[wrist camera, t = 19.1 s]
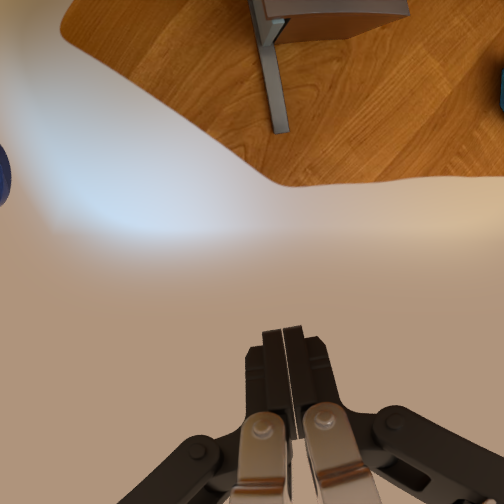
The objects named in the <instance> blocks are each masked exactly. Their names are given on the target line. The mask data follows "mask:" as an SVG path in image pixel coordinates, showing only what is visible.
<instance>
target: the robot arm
mask: <svg viewBox="0 0 504 504" xmlns="http://www.w3.org/2000/svg"><path fill="white" fill-rule="evenodd" d="M283 334H284V341H285V348H286V355H287V361H286V355H285V349H284V343H283V337H282V331H281V329H277V330H270V331H264V332H262V337H263V345H262V346H255V347H250V349H249V351H248V353H247V355H246V357H245V370H246V371H245V378H246V417H245V420H244V422H243V423H242V425H241V426H240V427H239V428H238V429H237V430H236V431H234V432H232V433H230V434H228V435H225V436H222V437H220V438H217V439H213V438H211V437H209V436H206V435H195V436H192V437H189V438H188V439H186V440H185V441H183V442H182V443H181V444H180V445H179V446H178V447H177V448H176V449H175V450H174V451H173V452H172V453H171V454H170V455H169V456H168V457H167V458H166V459H165V460H164V461H163V462H162V463H161V464H160V465H159V466H158V467H157V468H156V469H154V470H153V472H151V473H150V474H149V475H148V476H147V477H146V478H145V479H144V480H143V481H142V482H141V483H139V484H138V485H137V486H136V487H135V488H134V489H133V490H132V491H131V492H129V493H128V494H127V495H126V496H125V497H124V498H123V499H122V500H120V501H119V502H118V503H117V504H223V503H224V502H225V500H226V499H227V498H228V497H229V496H230V500H229V504H293V468H292V458H293V450H292V441H291V440H296V439H297V434H296V427H295V419H294V412H293V404H294V411H295V417H296V423H297V429H298V435H299V439H302V438H305V445H306V451H307V458H308V463H309V467H310V472H311V476H312V480H313V484H314V488H315V493H316V497H317V502H318V504H382V503H381V500H380V497H379V494H378V491H377V488H376V485H375V482H374V479H373V476H372V473H371V471H373V472H374V473H376V474H377V475H379V476H381V477H382V478H384V479H386V480H387V481H389V482H390V483H392V484H394V485H395V486H397V487H398V488H400V489H402V490H404V491H405V492H407V493H409V494H411V495H412V496H414V497H416V498H417V499H419V500H421V501H423V502H424V503H426V504H504V457H502V456H500V455H498V454H496V453H493V452H491V451H489V450H487V449H485V448H483V447H481V446H479V445H477V444H475V443H473V442H471V441H469V440H467V439H465V438H462V437H461V436H459V435H457V434H455V433H453V432H451V431H449V430H447V429H445V428H443V427H441V426H439V425H437V424H435V423H433V422H432V421H430V420H428V419H426V418H424V417H422V416H420V415H418V414H416V413H415V412H413V411H411V410H409V409H407V408H405V407H403V406H398V405H392V406H388V407H385V408H383V409H381V410H380V411H379V412H378V413H377V414H369V413H357V412H353V411H351V410H349V409H347V408H346V407H345V406H344V405H343V404H342V402H341V401H340V398H339V394H338V390H337V386H336V383H335V379H334V375H333V371H332V367H331V364H330V360H329V357H328V353H327V349H326V345H325V344H324V343H323V342H322V341H321V340H320V339H319V337H318V336H315V337H309V338H304V335H303V330H302V326H301V325H300V326H294V327H288V328H283ZM287 362H288V368H289V375H288V368H287ZM289 376H290V382H289ZM290 383H291V389H292V397H293V404H292V397H291V389H290ZM370 470H371V471H370Z"/></svg>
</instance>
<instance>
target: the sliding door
mask: <svg viewBox="0 0 504 504" xmlns="http://www.w3.org/2000/svg"><path fill="white" fill-rule="evenodd" d="M253 5H254V9H255V14H256V18H257V23H258V28H259V33H260V37H261V42H262V46H263V47H264V46H270V45H271V44H272V42H273V40H274V39H275V37H276V35H277V34H278V32H279V31H280V29H281V27H282V26H283V24H284V23H285V21H284V19H276V20H268V21H267V20H266V18H265V14H264V9H263V5H262V0H253Z"/></svg>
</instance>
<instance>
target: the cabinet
mask: <svg viewBox="0 0 504 504" xmlns="http://www.w3.org/2000/svg"><path fill="white" fill-rule="evenodd" d="M247 1H248V5H249V10H250V14H251V19H252V24H253V28H254V33H255V38H256V43H257V48H258V53H259V58H260V63H261V68H262V73H263V78H264V83H265V89H266V94H267V99H268V105H269V110H270V116H271V122H272V127H273V133H274V134H281V133H288V132H290V130H289V124H288V118H287V112H286V106H285V101H284V95H283V89H282V84H281V78H280V73H279V68H278V62H277V57H276V52H275V47H274V45H275V44H284V43H293V42H303V41H316V40H333V39H349V38H351V37H354V36H356V35H359V34H361V33H364V32H366V31H369V30H371V29H374V28H376V27H379V26H382V25H384V24H387V23H390V22H393V21H396V20H399V19H401V18H404V17H407V16H410V13H409V8H408V4H407V0H262V5H263V9H264V14H265V18H266V20H267V21H268V20H276V19H284V21H285V23H284V24H283V26H282V27H281V29H280V31H279V32H278V34H277V35H276V37H275V39H274V40H273V42H272V44H271V45H270V46H264V47H263V46H262V42H261V37H260V33H259V28H258V23H257V18H256V14H255V9H254V5H253V0H247Z"/></svg>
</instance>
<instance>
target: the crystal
mask: <svg viewBox="0 0 504 504" xmlns="http://www.w3.org/2000/svg"><path fill="white" fill-rule="evenodd" d="M500 107H501V108H502V110H503V112H504V68H503V69H502V82H501V97H500Z"/></svg>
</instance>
